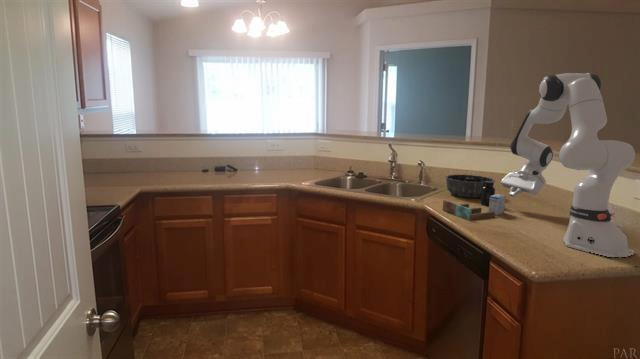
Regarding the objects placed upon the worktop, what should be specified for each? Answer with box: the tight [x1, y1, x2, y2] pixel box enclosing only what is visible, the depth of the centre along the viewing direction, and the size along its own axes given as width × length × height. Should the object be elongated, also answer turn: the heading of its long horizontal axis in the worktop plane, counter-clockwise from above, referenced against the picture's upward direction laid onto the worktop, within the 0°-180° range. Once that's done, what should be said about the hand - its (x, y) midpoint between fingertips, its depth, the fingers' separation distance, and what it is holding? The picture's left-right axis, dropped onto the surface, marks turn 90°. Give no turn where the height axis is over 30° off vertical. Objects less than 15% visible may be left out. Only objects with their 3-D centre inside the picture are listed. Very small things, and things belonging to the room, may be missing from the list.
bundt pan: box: [445, 174, 496, 199], centre depth 241 cm, size 26×26×10 cm
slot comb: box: [442, 199, 496, 221], centre depth 200 cm, size 18×15×5 cm
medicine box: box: [487, 193, 506, 216], centre depth 202 cm, size 8×4×9 cm, turn 135°
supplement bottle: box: [479, 181, 496, 207], centre depth 218 cm, size 7×7×12 cm
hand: (511, 195), depth 205 cm, fingers closed
